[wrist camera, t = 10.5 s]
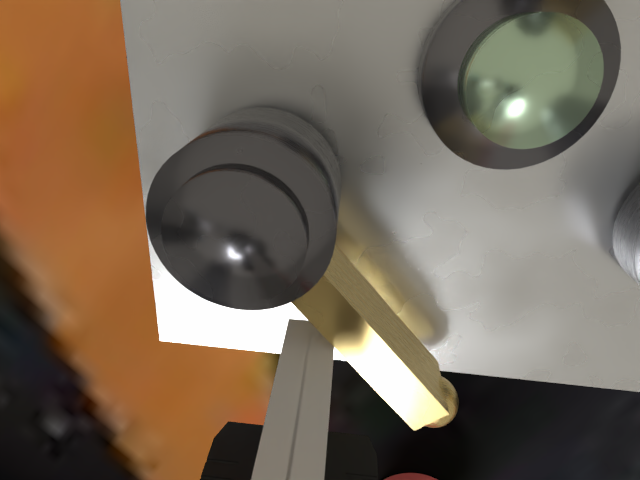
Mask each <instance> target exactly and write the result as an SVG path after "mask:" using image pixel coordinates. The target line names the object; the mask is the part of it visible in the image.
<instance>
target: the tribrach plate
mask: <svg viewBox="0 0 640 480" xmlns="http://www.w3.org/2000/svg"><path fill="white" fill-rule="evenodd" d="M120 2H121V10H122V19H123V28H124V36H125V45H126V53H127V62H128V70H129V79H130V88H131V96H132V105H133V113H134V122H135V131H136V139H137V148H138V156H139V165H140V174H141V182H142V191H143V199H144V208H145V217H146V202H147V195H148V192H149V189H150V185H151V183H152V181H153V179H154V177H155V175H156V173H157V172H158V171H159V169H160V168H161V166H162V165H163V164H164V163H165V162H166V161H167V160H168V159H169V158H170V157H171V156H172V155H173V154H174V153H176V152H177V151H178V150H180V149H181V148H182V147H184V146H185V145H186V144H188V143H189V142H190V141H192V140H193V139H194V138H196V137H197V136H199V135H200V134H201V133H203V132H204V131H205V130H207V129H208V128H209V127H211V126H212V125H213V124H215V123H216V122H217V121H219V120H220V119H222V118H223V117H225V116H227V115H229V114H231V113H233V112H236V111H239V110H243V109H247V108H255V107H266V108H274V109H280V110H283V111H286V112H289V113H292V114H294V115H296V116H298V117H300V118H302V119H303V120H305V121H306V122H308V123H309V124H311V125H312V126H313V127H314V128H315V129H316V130H318V131H319V133H320V134H321V135H322V136H323V137H324V138H325V139H326V141H327V142H328V144H329V145H330V147H331V148H332V150H333V152H334V154H335V156H336V159H337V162H338V165H339V169H340V173H341V183H342V186H341V199H340V207H339V216H338V224H337V233H336V242H335V244H336V245H337V246H338V247H339V248H340V249H341V251H342V252H343V253H344V254H345V255H346V256H347V257H348V259H349V260H350V261H351V262H352V263H353V264H354V266H355V267H356V268H357V269H358V270H359V271H360V272H361V274H362V275H363V276H364V277H365V278H366V279H367V281H368V282H369V283H370V284H371V285H372V286H373V287H374V289H375V290H376V291H377V292H378V293H379V294H380V296H381V297H382V298H383V299H384V300H385V301H386V302H387V304H388V305H389V306H390V307H391V308H392V309H393V311H394V312H395V313H396V314H397V315H398V316H399V317H400V319H401V320H402V321H403V322H404V323H405V324H406V326H407V327H408V328H409V329H410V330H411V331H412V332H413V334H414V335H415V336H416V337H417V338H418V339H419V341H420V342H421V343H422V344H423V345H424V346H425V347H426V349H427V350H428V351H429V352H430V353H431V354H432V356H433V357H434V358H435V359H436V360H437V361H438V364H439V369H440V371H449V372H458V373H467V374H477V375H486V376H496V377H505V378H514V379H524V380H533V381H542V382H552V383H561V384H570V385H580V386H589V387H599V388H608V389H617V390H627V391H636V392H640V286H639V285H638V284H637V283H636V282H635V281H634V280H633V279H632V278H631V277H630V276H629V275H628V274H627V273H626V272H625V271H624V270H623V269H622V267H621V266H620V264H619V263H618V261H617V259H616V256H615V253H614V249H613V239H612V238H613V229H614V225H615V221H616V218H617V215H618V213H619V211H620V209H621V207H622V205H623V203H624V202H625V200H626V199H627V197H628V196H629V195H630V193H631V192H632V191H633V190H634V189H635V187H636V186H637V185H638V184H639V183H640V0H120ZM146 225H147V224H146ZM147 234H148V231H147ZM148 242H149V251H150V260H151V268H152V277H153V285H154V294H155V303H156V311H157V320H158V328H159V337H160V341H168V342H177V343H187V344H196V345H205V346H215V347H224V348H234V349H243V350H252V351H262V352H271V353H280V354H281V349H282V345H283V341H284V337H285V332H286V328H287V324H288V320H289V319H299V320H308V319H307V318H306V317H305V316H304V315H303V314H302V313H301V312H300V311H299V310H298V309H297V308H296V307H295V306H294V305H293V304H292V303H291V302H290V303H288V304H286V305H283V306H280V307H276V308H272V309H266V310H255V311H247V310H236V309H231V308H226V307H223V306H219V305H216V304H214V303H211V302H209V301H206V300H204V299H202V298H201V297H199V296H197V295H195V294H193V293H192V292H191V291H189V290H188V289H186V288H185V287H184V286H182V285H181V284H180V283H179V282H178V281H177V280H176V279H175V278H174V277H173V276H172V275H171V274H170V273H169V272H168V271H167V269H166V268H165V267H164V265H163V264H162V263H161V261H160V260H159V258H158V256H157V254H156V253H155V251H154V248H153V246H152V244H151V241H150V238H149V234H148ZM333 359H336V360H346V359H345V358H344V357H343V356H342V355H341V354H340V353H339V352H338V351H337V350H336V349H335V348H334V358H333ZM346 361H347V360H346Z"/></svg>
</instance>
